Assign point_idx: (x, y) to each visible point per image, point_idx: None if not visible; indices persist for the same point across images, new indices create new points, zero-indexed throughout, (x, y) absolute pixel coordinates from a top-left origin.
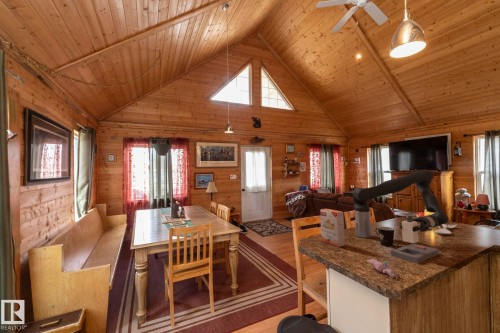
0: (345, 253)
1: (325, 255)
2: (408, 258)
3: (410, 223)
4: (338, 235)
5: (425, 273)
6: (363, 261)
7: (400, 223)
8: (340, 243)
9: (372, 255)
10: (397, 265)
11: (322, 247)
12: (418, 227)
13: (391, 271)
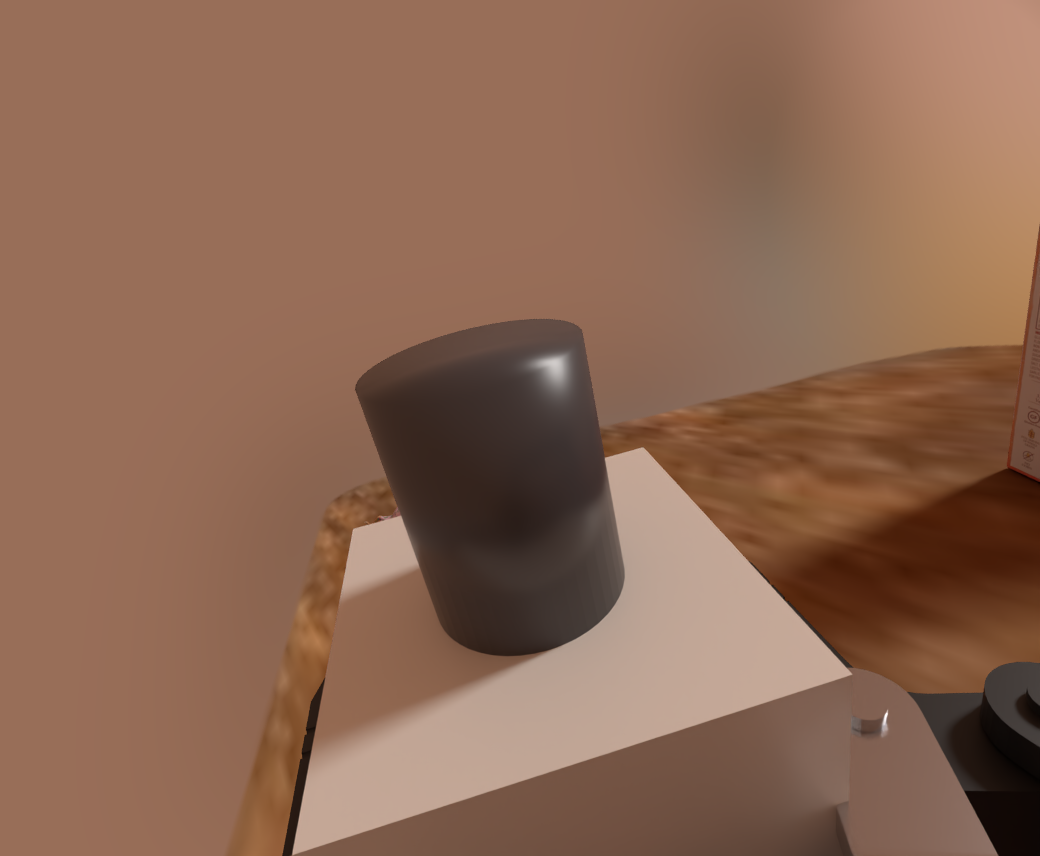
0: (820, 472)
1: (775, 400)
2: None
3: (403, 524)
4: (1025, 360)
5: (294, 739)
6: None
7: (1028, 678)
8: (1036, 450)
9: None
10: None
11: (967, 402)
12: (293, 831)
13: (397, 508)
